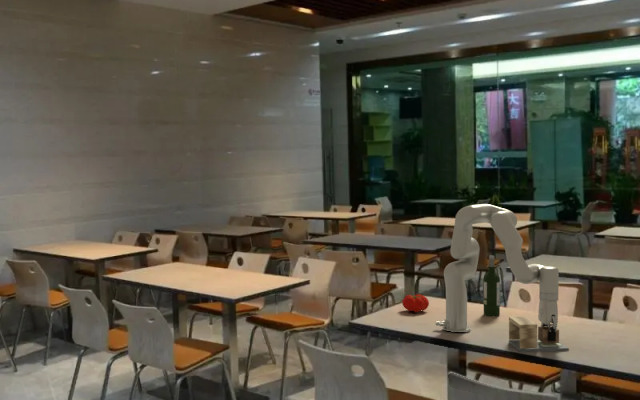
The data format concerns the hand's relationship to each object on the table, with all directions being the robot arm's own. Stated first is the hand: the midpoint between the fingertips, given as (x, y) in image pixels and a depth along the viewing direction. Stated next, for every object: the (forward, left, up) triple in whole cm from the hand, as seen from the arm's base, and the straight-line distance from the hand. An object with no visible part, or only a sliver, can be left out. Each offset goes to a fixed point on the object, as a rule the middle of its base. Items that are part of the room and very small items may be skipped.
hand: (548, 338), depth 279 cm
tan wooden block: (-11, 0, -2) cm, 11 cm away
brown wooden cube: (0, 0, -1) cm, 1 cm away
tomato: (-43, +69, -4) cm, 82 cm away
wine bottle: (-6, +59, -3) cm, 59 cm away
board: (-4, 0, -3) cm, 5 cm away
